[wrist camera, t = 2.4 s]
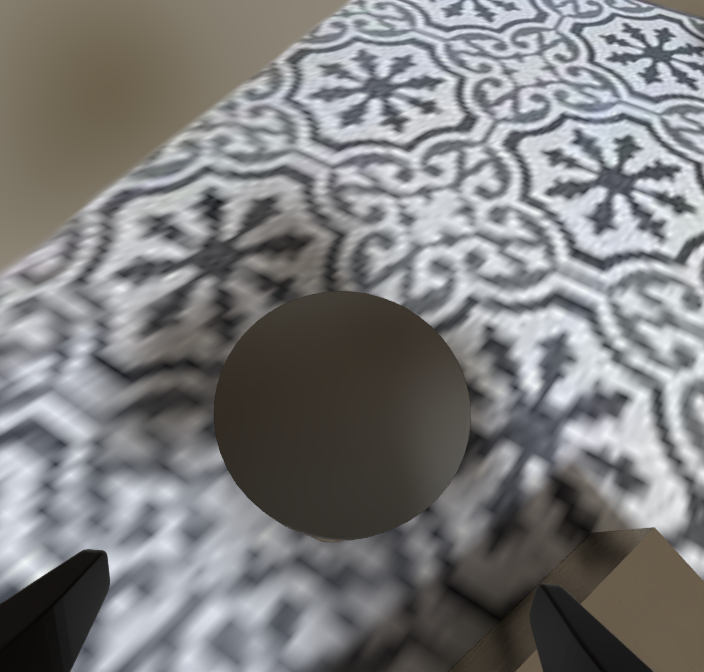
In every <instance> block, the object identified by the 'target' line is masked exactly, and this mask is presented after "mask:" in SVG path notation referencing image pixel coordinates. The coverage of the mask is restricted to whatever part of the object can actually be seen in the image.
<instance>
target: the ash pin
mask: <svg viewBox="0 0 704 672" xmlns="http://www.w3.org/2000/svg"><path fill="white" fill-rule="evenodd" d="M470 423H471V412H470V400H469V393H468V388H467V385H466V382H465V378H464V375H463V373H462V370H461V368H460V366H459V363H458V361H457V359H456V358H455V356H454V354H453V353H452V351H451V349H450V348H449V346H448V345H447V344H446V342H445V341H444V340H443V339H442V337H441V336H440V335H439V334H438V333H437V332H436V331H435V330H434V329H433V328H432V327H431V326H430V325H429V324H428V323H427V322H425V321H424V320H423V319H422V318H420V317H419V316H418V315H416V314H415V313H413V312H411V311H410V310H408V309H407V308H405V307H403V306H401V305H399V304H397V303H395V302H392V301H389V300H387V299H384V298H381V297H378V296H374V295H370V294H365V293H358V292H345V291H335V292H323V293H318V294H312V295H308V296H305V297H301V298H298V299H295V300H293V301H290V302H288V303H286V304H283V305H281V306H280V307H278V308H276V309H274V310H273V311H271V312H269V313H268V314H266V315H265V316H264V317H262V318H261V319H260V320H258V321H257V322H256V323H255V324H254V325H253V326H252V327H251V328H250V329H249V330H248V331H247V332H246V333H245V334H244V335H243V336H242V337H241V339H240V340H239V341H238V342H237V344H236V345H235V347H234V348H233V350H232V351H231V353H230V355H229V356H228V358H227V360H226V363H225V365H224V367H223V369H222V371H221V375H220V378H219V381H218V384H217V389H216V395H215V401H214V425H215V433H216V438H217V442H218V446H219V450H220V453H221V455H222V458H223V460H224V462H225V465H226V467H227V469H228V471H229V473H230V474H231V476H232V477H233V479H234V481H235V482H236V484H237V485H238V486H239V488H240V489H241V490H242V491H243V492H244V494H245V495H246V496H247V497H248V498H249V499H250V500H251V501H252V502H253V503H254V504H255V505H256V506H258V507H259V508H260V509H261V510H262V511H263V512H265V513H266V514H268V515H269V516H270V517H272V518H273V519H275V520H276V521H278V522H279V523H281V524H282V525H284V526H286V527H288V528H290V529H292V530H295V531H297V532H299V533H302V534H305V535H308V536H311V537H313V538H315V539H317V540H320V541H325V542H339V541H343V540H354V539H361V538H367V537H371V536H374V535H377V534H380V533H384V532H386V531H389V530H391V529H393V528H395V527H397V526H399V525H402V524H404V523H406V522H408V521H410V520H411V519H413V518H414V517H416V516H417V515H419V514H420V513H422V512H423V511H424V510H425V509H427V508H428V507H429V506H430V505H431V504H432V503H433V502H434V501H435V500H436V499H438V497H439V496H440V495H441V494H442V493H443V491H444V490H445V489H446V488H447V486H448V485H449V484H450V482H451V480H452V479H453V477H454V475H455V474H456V472H457V470H458V468H459V466H460V464H461V461H462V459H463V457H464V454H465V450H466V447H467V443H468V439H469V432H470Z"/></svg>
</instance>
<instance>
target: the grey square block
mask: <svg viewBox="0 0 704 672" xmlns="http://www.w3.org/2000/svg"><path fill="white" fill-rule="evenodd" d="M541 583H544V584H556V585H559V586H561V587H562V588H563V589H564V590H566V591H567V592H568V593H569V594H570V595H571V596H572V597H573V598H574V599H575V600H576V601H578V602H579V603H580V604H581V605H582V606H583V607H584V608H585V609H586V610H587V611H588V612H590V613H591V614H592V615H593V616H594V617H595V618H596V619H597V620H598V621H599V622H600V623H602V624H603V625H604V626H605V627H606V628H607V629H608V630H609V631H610V632H611V633H612V634H614V635H615V636H616V637H617V638H618V639H619V640H620V641H621V642H622V643H623V644H624V645H626V646H627V647H628V648H629V649H630V650H631V651H632V652H633V653H634V654H635V655H636V656H638V657H639V658H640V659H641V660H642V661H643V662H644V663H645V664H646V665H647V666H648V667H650V668H651V669H652V670H653V671H654V672H704V581H703V580H702V579H701V578H700V577H699V576H698V575H697V574H696V573H695V571H694V570H693V569H692V568H691V567H690V566H689V565H688V564H687V563H686V562H685V560H684V559H683V558H682V557H681V556H680V555H679V554H678V553H677V552H676V551H675V549H674V548H673V547H672V546H671V545H670V544H669V543H668V542H667V541H666V540H665V538H664V537H663V536H662V535H661V534H660V533H659V532H658V531H657V530H656V529H655V527H654V528H642V529H631V530H619V531H608V532H596V533H591V534H590V535H589V536H588V537H587V538H586V539H585V540H584V541H583V542H582V543H581V544H580V545H579V546H578V547H577V548H576V549H575V550H574V551H573V552H572V553H571V554H570V555H569V556H568V557H567V558H566V559H565V560H563V561H562V562H561V563H560V564H559V565H558V566H557V567H556V568H555V569H554V570H553V571H552V572H551V573H550V574H549V575H548V576H547V577H546V578H545V579H544V580H543V581H542V582H541ZM541 583H540V584H541ZM536 588H537V587H535V588H534V589H533V590H532V591H531V592H530V593H529V594H528V595H527V596H526V597H525V598H524V599H523V600H522V601H521V602H520V603H519V604H518V605H517V606H516V607H515V608H514V609H513V610H512V611H511V612H510V613H509V614H507V615H506V616H505V617H504V618H503V619H502V620H501V621H500V622H499V623H498V624H497V625H496V626H495V627H494V628H493V629H492V630H491V631H490V632H489V633H488V634H487V635H486V636H485V637H484V638H483V639H482V640H481V641H479V642H478V643H477V644H476V645H475V646H474V647H473V648H472V649H471V650H470V651H469V652H468V653H467V654H466V655H465V656H464V657H463V658H462V659H461V660H460V661H459V662H458V663H457V664H456V665H455V666H454V667H453V668H451V669H450V670H449V671H448V672H543V669H542V666H541V662H540V658H539V655H538V651H537V648H536V644H535V640H534V637H533V633H532V629H531V625H530V619H529V614H530V609H531V605H532V602H533V598H534V595H535V591H536Z"/></svg>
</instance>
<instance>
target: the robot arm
mask: <svg viewBox="0 0 704 672" xmlns="http://www.w3.org/2000/svg"><path fill="white" fill-rule="evenodd" d="M109 586H110V575H109V566H108V557H107V553H106V552H105V551H103V550H92V549H86V550H83V551H81V552H79V553H78V554H76V555H75V556H73V557H71V558H70V559H68V560H67V561H65V562H64V563H62V564H61V565H59V566H58V567H56V568H54V569H53V570H51V571H50V572H48V573H47V574H45V575H44V576H42V577H41V578H39V579H38V580H36V581H34V582H33V583H31V584H30V585H28V586H27V587H25V588H24V589H22V590H21V591H19V592H17V593H16V594H14V595H13V596H11V597H10V598H8V599H7V600H5V601H4V602H2V603H0V672H70V671H71V669H72V667H73V665H74V663H75V661H76V659H77V657H78V655H79V653H80V650H81V648H82V646H83V644H84V642H85V640H86V638H87V636H88V634H89V631H90V629H91V627H92V625H93V623H94V621H95V619H96V617H97V614H98V612H99V610H100V608H101V606H102V604H103V602H104V600H105V597H106V595H107V593H108V590H109ZM529 619H530V625H531V629H532V633H533V637H534V640H535V644H536V648H537V651H538V655H539V658H540V662H541V666H542V669H543V672H654V671H653V670H652V669H651V668H650V667H648V666H647V665H646V664H645V663H644V662H643V661H642V660H641V659H640V658H639V657H638V656H636V655H635V654H634V653H633V652H632V651H631V650H630V649H629V648H628V647H627V646H626V645H624V644H623V643H622V642H621V641H620V640H619V639H618V638H617V637H616V636H615V635H614V634H612V633H611V632H610V631H609V630H608V629H607V628H606V627H605V626H604V625H603V624H602V623H600V622H599V621H598V620H597V619H596V618H595V617H594V616H593V615H592V614H591V613H590V612H588V611H587V610H586V609H585V608H584V607H583V606H582V605H581V604H580V603H579V602H578V601H576V600H575V599H574V598H573V597H572V596H571V595H570V594H569V593H568V592H567V591H566V590H564V589H563V588H562V587H561V586H559V585H556V584H544V583H541V584H539V585H538V586H537V588H536V591H535V595H534V598H533V602H532V605H531V609H530V614H529Z"/></svg>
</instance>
